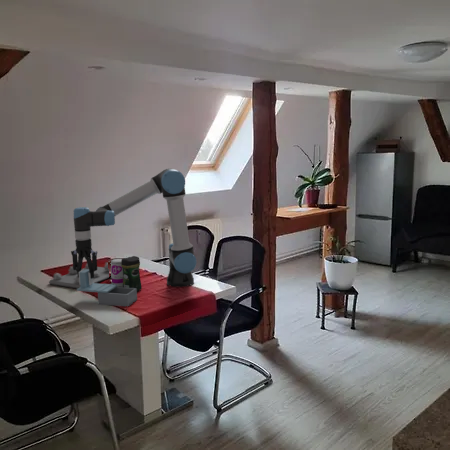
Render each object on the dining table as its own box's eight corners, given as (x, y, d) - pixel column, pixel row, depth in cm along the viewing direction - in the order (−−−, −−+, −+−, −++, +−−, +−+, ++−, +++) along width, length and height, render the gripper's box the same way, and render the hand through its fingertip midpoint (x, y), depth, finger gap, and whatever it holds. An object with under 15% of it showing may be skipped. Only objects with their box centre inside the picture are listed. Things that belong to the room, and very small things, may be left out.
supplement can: (123, 289, 244) (121, 262, 242) (109, 288, 246) (107, 261, 243) (129, 284, 252) (128, 258, 250) (115, 284, 254) (114, 258, 251)
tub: (137, 299, 227) (136, 288, 226) (128, 306, 218) (127, 294, 217) (108, 297, 231) (107, 286, 230) (98, 304, 222) (97, 292, 221)
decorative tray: (90, 269, 285) (89, 254, 283) (123, 274, 274) (122, 258, 272) (47, 285, 254) (46, 268, 252) (82, 291, 243) (81, 273, 241)
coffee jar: (134, 287, 248) (132, 254, 245) (143, 289, 243) (142, 256, 240) (120, 291, 241) (118, 257, 237) (129, 294, 236) (127, 260, 232)
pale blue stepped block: (117, 286, 229) (116, 269, 227) (107, 292, 219) (106, 275, 217) (88, 284, 233) (87, 267, 232) (76, 290, 223) (75, 273, 221)
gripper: (103, 237, 224) (106, 283, 229) (71, 236, 229) (74, 280, 233) (95, 241, 217) (98, 287, 221) (63, 239, 222) (66, 285, 226)
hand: (86, 284), depth 227 cm, fingers open, 5 cm apart
